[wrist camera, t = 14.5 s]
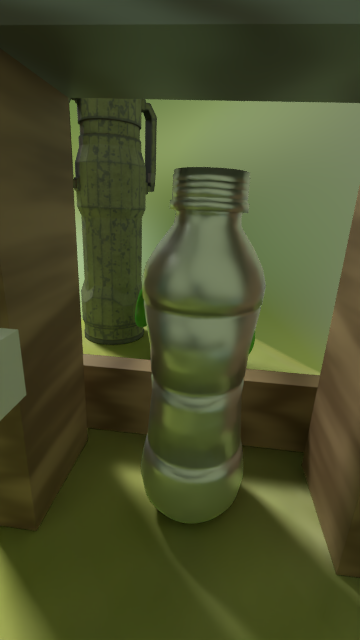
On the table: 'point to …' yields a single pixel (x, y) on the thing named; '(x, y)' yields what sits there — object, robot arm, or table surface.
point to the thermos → (113, 211)
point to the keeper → (61, 248)
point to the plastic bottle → (199, 345)
